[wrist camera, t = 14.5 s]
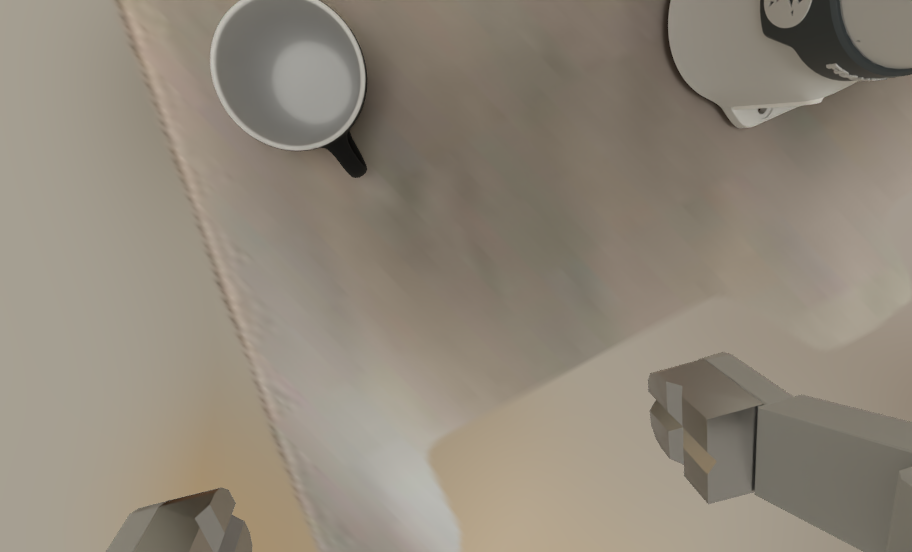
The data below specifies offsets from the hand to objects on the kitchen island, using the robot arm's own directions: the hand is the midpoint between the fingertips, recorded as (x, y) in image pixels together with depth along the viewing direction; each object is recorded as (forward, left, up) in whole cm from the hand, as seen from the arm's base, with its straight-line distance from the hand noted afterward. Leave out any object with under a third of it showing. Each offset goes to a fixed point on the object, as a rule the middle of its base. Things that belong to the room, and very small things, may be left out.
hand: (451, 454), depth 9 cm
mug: (+4, -8, -34) cm, 36 cm away
